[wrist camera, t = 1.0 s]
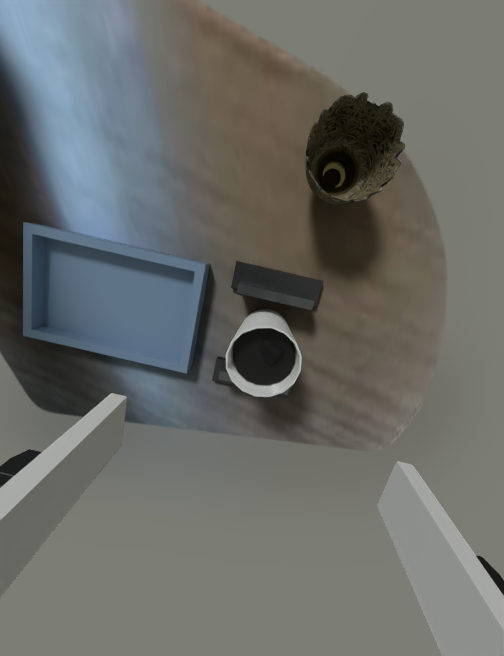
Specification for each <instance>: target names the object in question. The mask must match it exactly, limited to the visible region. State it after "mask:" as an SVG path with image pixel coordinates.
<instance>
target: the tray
mask: <svg viewBox="0 0 504 656" xmlns="http://www.w3.org/2000/svg"><path fill="white" fill-rule="evenodd" d="M209 269H210V264H208V263H204V262H200V261H196V260H191V259H187V258H183V257H178V256H174V255H170V254H165V253H161V252H157V251H153V250H148V249H144V248H140V247H135V246H131V245H127V244H122V243H118V242H114V241H110V240H105V239H101V238H97V237H92V236H88V235H84V234H79V233H75V232H71V231H67V230H62V229H58V228H54V227H49V226H45V225H40V224H33V223H26V222H23V336H27V337H31V338H35V339H40V340H44V341H48V342H52V343H57V344H61V345H65V346H70V347H74V348H78V349H83V350H87V351H91V352H96V353H100V354H104V355H109V356H113V357H117V358H122V359H126V360H130V361H135V362H139V363H143V364H147V365H152V366H156V367H160V368H165V369H169V370H173V371H178V372H182V373H186V374H187V372H188V371H189V369H190V368H191V366H192V363H193V358H194V352H195V347H196V341H197V335H198V330H199V324H200V319H201V313H202V308H203V302H204V296H205V291H206V285H207V280H208V274H209Z"/></svg>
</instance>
